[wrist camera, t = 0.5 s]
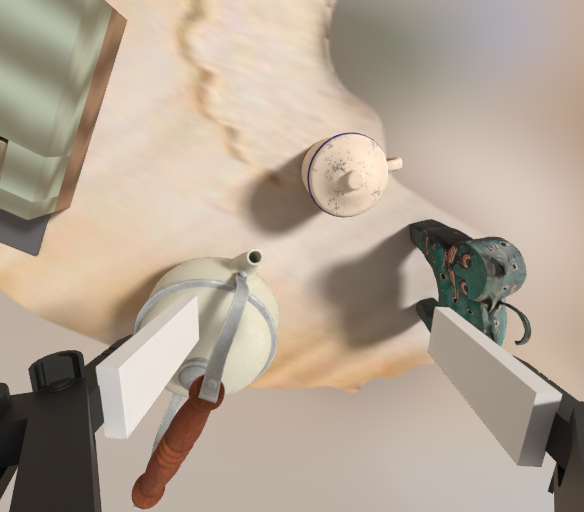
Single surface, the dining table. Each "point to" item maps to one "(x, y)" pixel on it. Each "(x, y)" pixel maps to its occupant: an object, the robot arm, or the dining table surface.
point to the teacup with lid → (346, 173)
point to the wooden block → (2, 152)
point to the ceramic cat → (471, 277)
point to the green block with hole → (51, 96)
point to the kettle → (208, 353)
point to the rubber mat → (22, 231)
